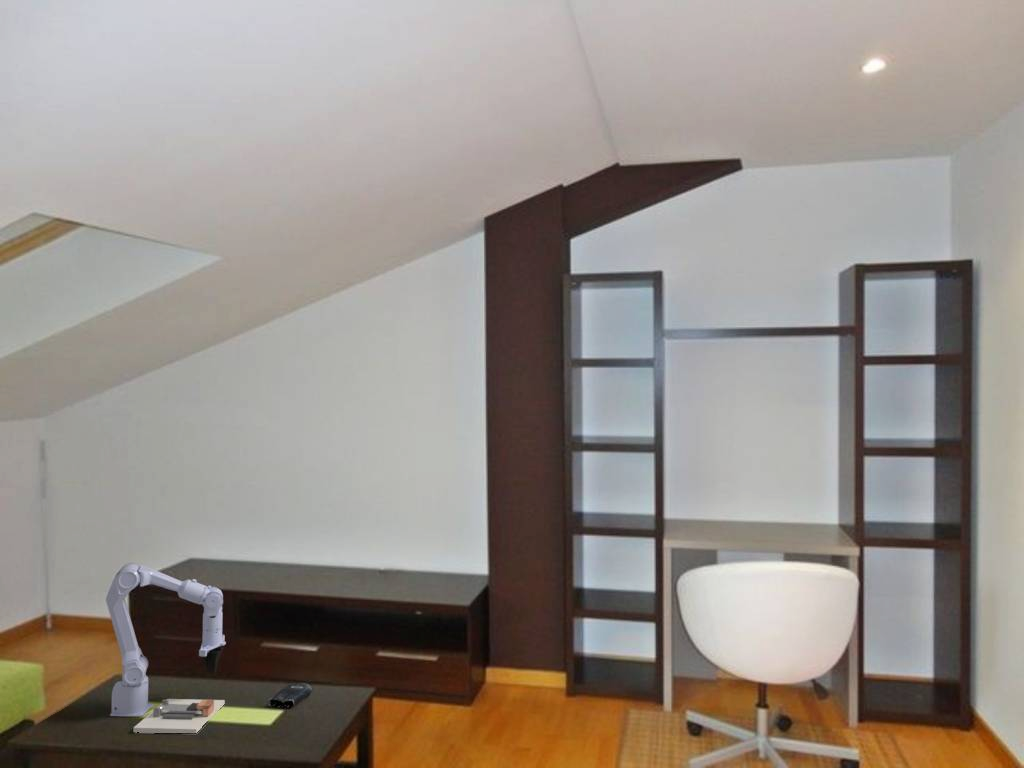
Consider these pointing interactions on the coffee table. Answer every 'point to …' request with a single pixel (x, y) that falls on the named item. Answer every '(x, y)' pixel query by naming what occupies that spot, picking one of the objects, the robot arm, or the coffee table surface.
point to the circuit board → (175, 719)
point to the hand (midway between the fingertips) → (211, 671)
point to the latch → (206, 707)
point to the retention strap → (180, 708)
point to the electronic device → (291, 694)
